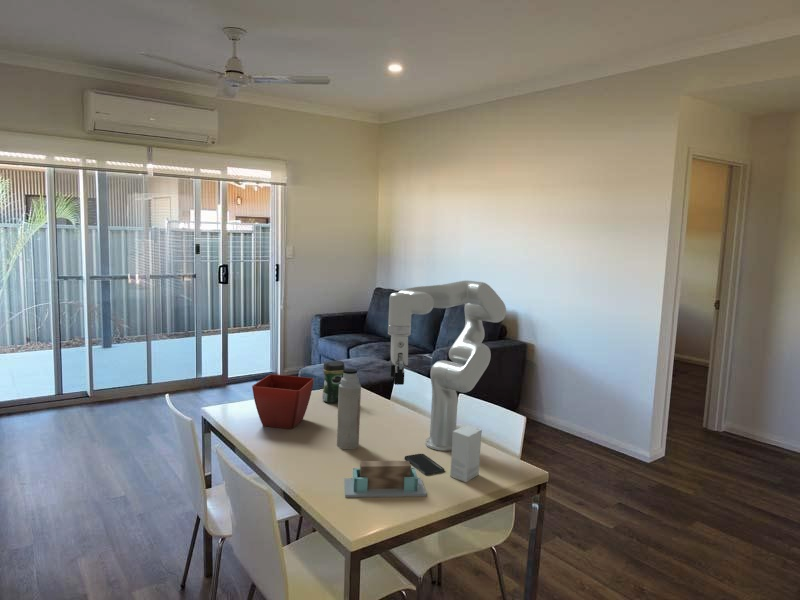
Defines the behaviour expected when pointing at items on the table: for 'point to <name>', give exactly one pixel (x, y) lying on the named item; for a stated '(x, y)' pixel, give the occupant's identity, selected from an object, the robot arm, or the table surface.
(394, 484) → the brown wooden block
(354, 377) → the thermos bottle
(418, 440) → the table surface
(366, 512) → the table surface
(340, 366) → the coffee jar
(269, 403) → the plant pot
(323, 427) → the table surface
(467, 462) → the skincare box
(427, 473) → the phone
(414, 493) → the rail
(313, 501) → the table surface
